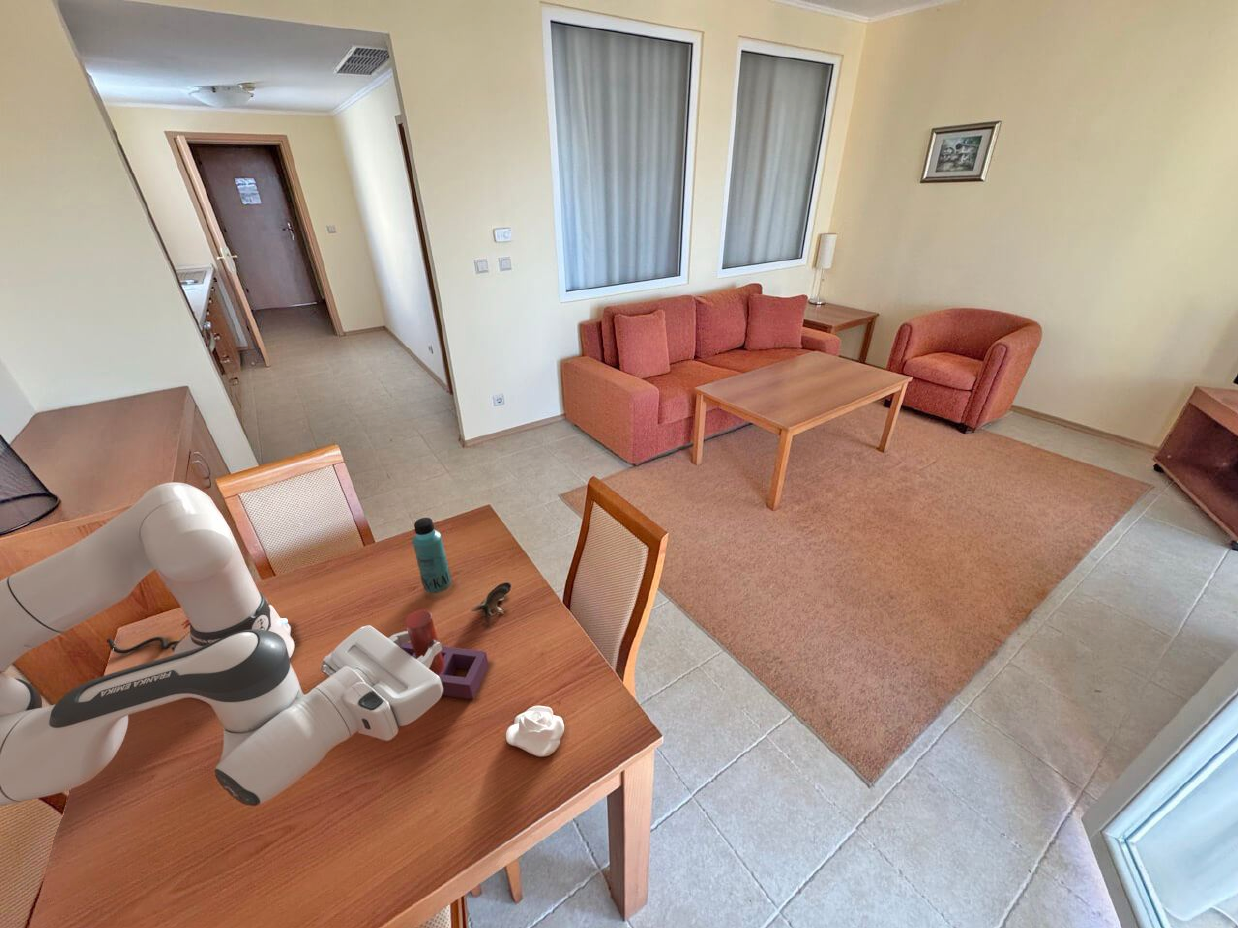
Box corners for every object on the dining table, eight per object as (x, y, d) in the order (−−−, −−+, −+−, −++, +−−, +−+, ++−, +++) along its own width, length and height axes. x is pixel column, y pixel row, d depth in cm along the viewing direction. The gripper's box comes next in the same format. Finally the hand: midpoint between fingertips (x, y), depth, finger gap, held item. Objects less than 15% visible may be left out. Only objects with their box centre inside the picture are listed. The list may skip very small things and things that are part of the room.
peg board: (373, 685, 96) (368, 671, 94) (395, 653, 103) (391, 639, 101) (473, 699, 93) (469, 685, 92) (488, 665, 100) (485, 651, 98)
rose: (508, 755, 80) (499, 704, 88) (511, 771, 82) (502, 720, 90) (568, 734, 82) (554, 687, 90) (570, 750, 85) (556, 702, 93)
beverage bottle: (425, 583, 121) (407, 516, 112) (453, 577, 123) (438, 511, 113) (424, 601, 116) (405, 532, 106) (453, 595, 118) (437, 527, 108)
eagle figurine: (510, 623, 108) (519, 589, 115) (487, 606, 105) (498, 572, 112) (485, 632, 112) (496, 598, 118) (462, 615, 108) (475, 582, 115)
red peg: (416, 676, 85) (400, 626, 79) (427, 657, 89) (413, 608, 83) (437, 679, 85) (423, 629, 79) (448, 660, 88) (435, 611, 82)
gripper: (321, 678, 81) (396, 624, 91) (396, 747, 70) (472, 677, 80) (309, 651, 78) (388, 598, 87) (385, 719, 67) (465, 650, 77)
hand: (429, 636), depth 84 cm, fingers closed on red peg, 4 cm apart
